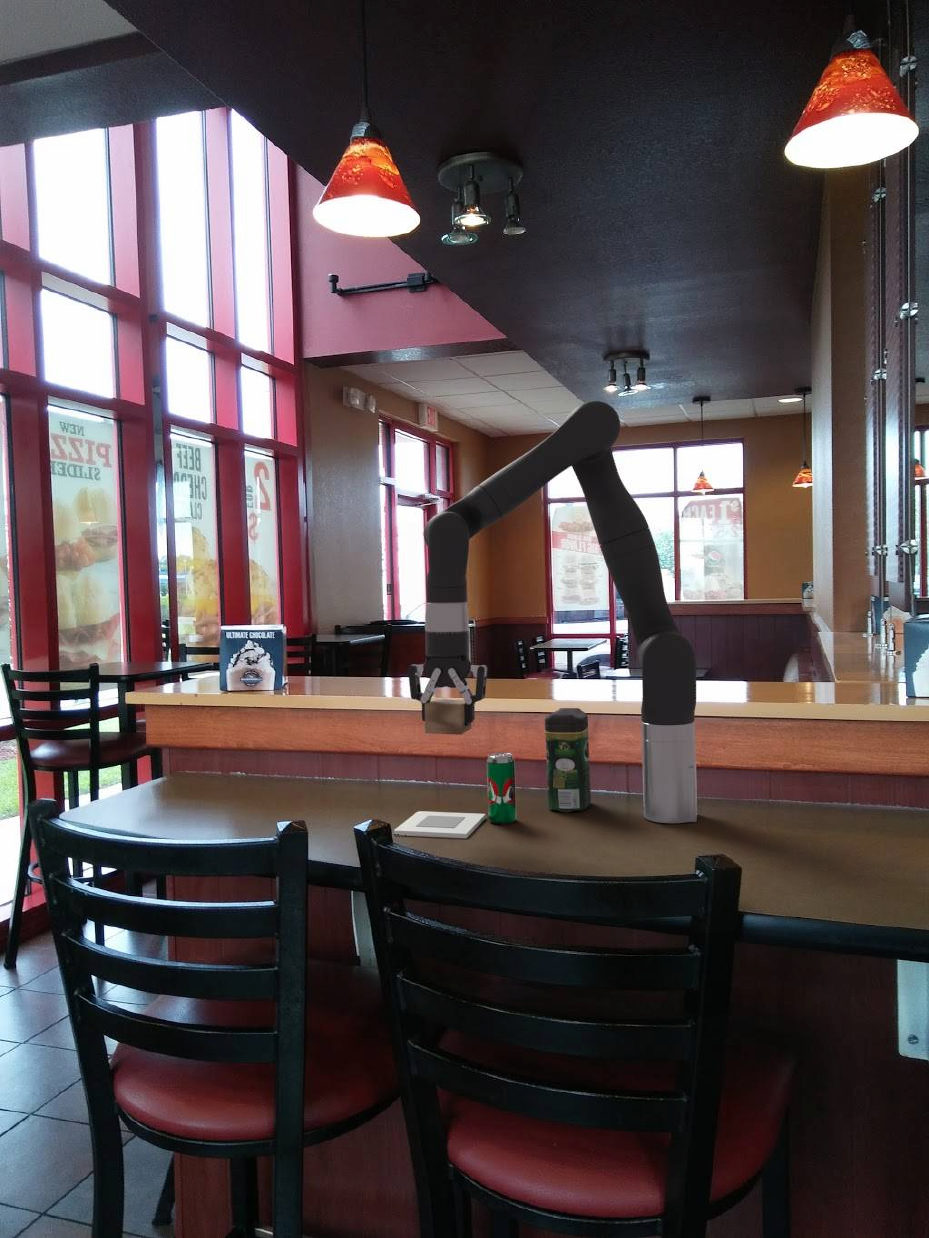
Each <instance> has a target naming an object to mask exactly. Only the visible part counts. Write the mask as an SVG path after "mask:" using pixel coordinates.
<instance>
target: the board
mask: <svg viewBox="0 0 929 1238" xmlns="http://www.w3.org/2000/svg"><path fill="white" fill-rule="evenodd" d="M486 815H487V814H486V813H473V812H472V813H471V812H469V813H467V812H450V811H449V812H443V811H424V810H423V811H419V810H418V811H417V812H415V813H414V814H412V816H410V817H409V818H408V819H407V820H405V821H404V822H402V823H401V824H400V825H399V826H398V827H396V828H395V829H394V830H393V835H394V834H396V835H395V836H405V835H406V836H409V837H426V838H427V837H428V838H449V839H451V838H452V839H467V838H468V837H470V836H471V834H472V833H473V832H474V831H475V830H476V829H477V828H478V827H479V826H480V825H481V824H483V822H484V821H485V820H486V818H487V816H486ZM397 834H399V835H397Z"/></svg>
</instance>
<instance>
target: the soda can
mask: <svg viewBox="0 0 929 1238" xmlns="http://www.w3.org/2000/svg"><path fill="white" fill-rule="evenodd" d="M487 757H488V758H487V760H486V783H487V787H486V788H487V789H486V790H487V817H488V820H489V821H490V823H492V824H495V825H509V824H512V823H514V822H515V821H516V820H517V816H518V815H517V790H516V788H517V787H516V762H515V759H514V757H513V754H512V753H508V752H494V753H489V754H488V756H487Z"/></svg>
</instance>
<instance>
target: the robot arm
mask: <svg viewBox="0 0 929 1238" xmlns="http://www.w3.org/2000/svg"><path fill="white" fill-rule="evenodd" d="M620 431H621V419H620V416H619V414H618V412H617V411H616V409H614V407H613V406H612V405H610V404H608V403H607V402H604V401H600V400H590V401H587V402H583V403H581V404H579V405H578V406H577V407H575V408H573V410H572V411H571V412H569V414H568V415H567V416H566V417H565V418H564V420H563V423H561V425H559V427H557V429H555V430H554V431H553V432H552V433H551V434H550V435H549V436H548V437H547V438H545V439H543V440H542V441H541V442H540V443H539V444H537V445H536V446H534V447H533V448H532V449H531V450H529V451H527V452H526V453H525V454H523V455H522V456H520V457H518V458H517V459H515V460H513V461H512V462H510V463H509V464H508V465H506V466H504V467H503V468H501V469H500V470H498V471H497V472H495V473H494V474H492V475H491V476H490V477H488V478H487V479H485V480H483V482H481V483H479V484H478V485H476V486H475V487H474V488H473V489H471V491H469V492H468V493H467V494H466V495H465V496H463V498H460V499H459V500H458V501H455V502H454V503H452V504H450V505H449V506H448V507H446V508H445V509H443V510H442V511H440V512H438V513H437V514H435V515H434V516H433V517H431V518H430V519H429V520H428V521H427V523H426V524H425V525H424V530H423V539H424V542H425V544H426V546H427V547H428V552H429V553H428V556H429V557H428V561H429V562H428V563H429V566H428V567H429V568H428V572H427V575H426V584H425V585H426V593H425V594H426V603H425V604H426V607H425V614H424V615H425V617H424V631H425V633H424V634H425V661H424V663H423V664H422V663H421V664H415V663H414V664H411V665H408V667H407V673H408V682H409V683H408V684H409V691H410V693H409V694H410V698H411V700H416V701H419V702H420V703H421V720H422V722H425V704H426V703H429V702H431V700H432V698H433V697H434V694H435V692H436V691H437V690H438V689H439V688H441V689H442V688H445V687H446V688H451V689H453V688H455V689H457V691H458V693H459V694H460V695H461V697H462V700H464V701H465V703H466V704H465V705H464V714H465V726H470V725H471V726H472V723H474V721H475V718H476V717H475V716H476V713H475V711H476V709H475V705H476V702H480V701H482V700H483V699H485V698H486V692H487V691H486V690H487V679H488V678H487V677H488V666H487V664H483V665H475V664H472V663H471V660H470V636H469V635H470V627H469V626H470V620H469V616H470V615H469V610H468V585H467V584H468V581H467V570H468V569H467V568H468V561H469V551H470V540H471V539H472V538H473V537H474V536H475V535H477V534H478V533H479V532H481V531H482V530H483V529H485V528H487V527H491V526H492V525H494V524H495V523H497V522H499V521H500V520H502V519H503V518H504V517H506V516H507V515H509V514H510V513H512V512H513V511H514V510H515V509H517V508H519V507H520V506H521V505H522V504H523V503H525V502H526V501H527V500H529V499H530V498H531V497H533V496H534V495H535V494H536V493H537V492H538V491H540V490H541V489H542V488H543V487H545V486H546V485H547V484H548V483H550V482H551V481H552V480H553V479H555V478H556V477H557V476H559V475H560V474H561V473H563V472H564V471H566V470H568V469H569V468H572V470H573V472H574V474H575V476H576V479H577V480H578V483H579V485H580V487H581V489H582V490H581V491H582V493H583V495H584V499H585V503H586V507H587V511H588V514H589V517H590V519H591V520H590V521H591V522H592V526H593V528H594V532H595V535H596V538H597V542H598V545H599V548H600V550H601V554H602V556H603V560H604V563H605V565H606V568H607V570H608V573H609V575H610V577H611V580H612V582H613V585H614V586H615V589H616V591H617V593H618V596H619V597H620V599H621V601H622V604H623V606H624V608H625V610H626V613H627V615H628V619H629V622H630V627H631V631H632V634H633V639H634V644H635V649H636V653H637V658H638V663H639V665H640V668H641V672H642V673H641V677H642V679H641V680H642V684H641V686H642V688H641V689H642V697H641V699H642V701H641V707H640V713H641V714H640V715H641V716H640V720H641V754H642V755H641V758H642V761H641V762H642V794H643V796H642V797H643V798H642V799H643V802H642V803H643V804H642V806H643V817H644V819H646V820H647V821H650V822H655V823H662V824H683V823H684V824H685V823H696V822H697V818H698V793H697V792H698V789H697V788H698V787H697V786H698V785H697V783H698V781H697V761H696V731H695V729H696V725H695V711H696V706H697V658H696V657H697V656H696V652H695V649H694V647H693V645H692V643H691V642H690V641H689V639H687V638H686V636H683V635H682V634H681V632H680V629H679V627H678V625H677V623H676V622H675V619H674V617H673V614H672V612H671V610H670V607H669V605H668V604H669V603H668V602H667V599H666V595H665V588H664V582H663V575H662V573H663V572H662V569H661V563H660V558H659V555H658V554H659V553H658V551H657V550H658V549H657V547H656V543H655V541H654V538H653V534H652V532H651V529H650V526H649V524H648V520H647V519H646V517H645V515H644V513H643V512H642V510H641V509H640V506H639V505H638V503H637V502H636V501H635V499H634V498H633V496H632V495H631V493H629V490H627V488H626V486H625V485H624V483H623V481H622V478H621V476H620V474H619V471H618V469H617V465H616V464H617V463H616V462H615V461H616V460H615V458H614V454H613V451H612V447H613V446H614V445H615V443H616V442H617V440H618V437H619V435H620ZM423 671H424V672H425V674H426V675H427V677H428V678H429V681H428V682H427V684H426V686H425V689H424V692H422V687H421V678H420V677H422V676H423ZM471 672H472V675H473V677H474V678H475V679H476V682H475V684H476V685H475V692H474V693H473V692H472V689H471V687H470V685H469V682H468V680H467V677H468V676H469V674H470V673H471Z"/></svg>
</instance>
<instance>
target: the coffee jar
mask: <svg viewBox="0 0 929 1238" xmlns="http://www.w3.org/2000/svg"><path fill="white" fill-rule="evenodd" d="M544 737H545V751H546V753H545V754H546V760H545V761H546V783H547V784H546V790H547V792H546V793H547V795H546V796H547V799H546V800H547V807H548V808H549V809H550V810H554V811H559V812H561V813H572V812H574V811H575V812H577V811H585V810H586V809H587V808H588V807H589V806H590V803H591V800H592V795H591V794H592V789H591V775H590V773H591V771H590V770H591V769H590V768H591V767H590V749H589V748H590V746H589V745H590V744H589V741H590V740H589V716H588V714H587V713H586V712H585V711H583V710H582V709H581V708H579V707H578V708H577V707H576V708H575V707H561V708H559V709H558V710H556V711H553V712H552V713H550V714H548V715H547V716H546V717H545V718H544Z"/></svg>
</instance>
